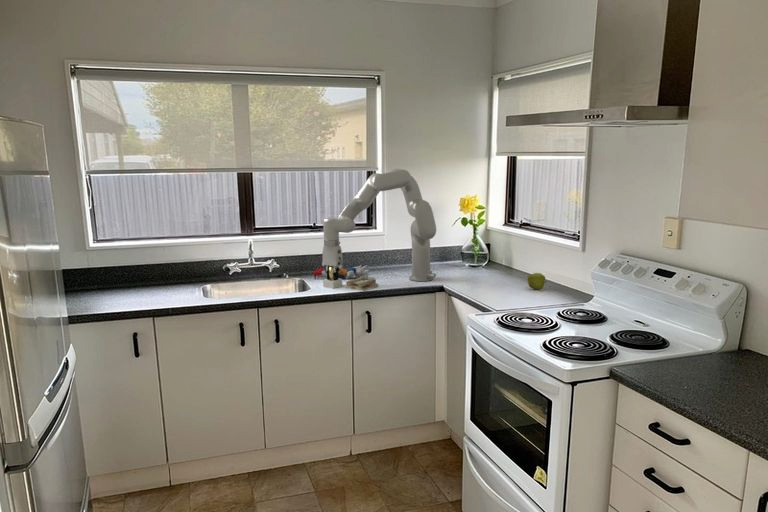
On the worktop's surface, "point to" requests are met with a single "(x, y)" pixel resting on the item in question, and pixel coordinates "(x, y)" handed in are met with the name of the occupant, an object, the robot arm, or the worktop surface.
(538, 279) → the apple
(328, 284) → the holder
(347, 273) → the figurine
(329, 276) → the cylinder
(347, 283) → the tester base
